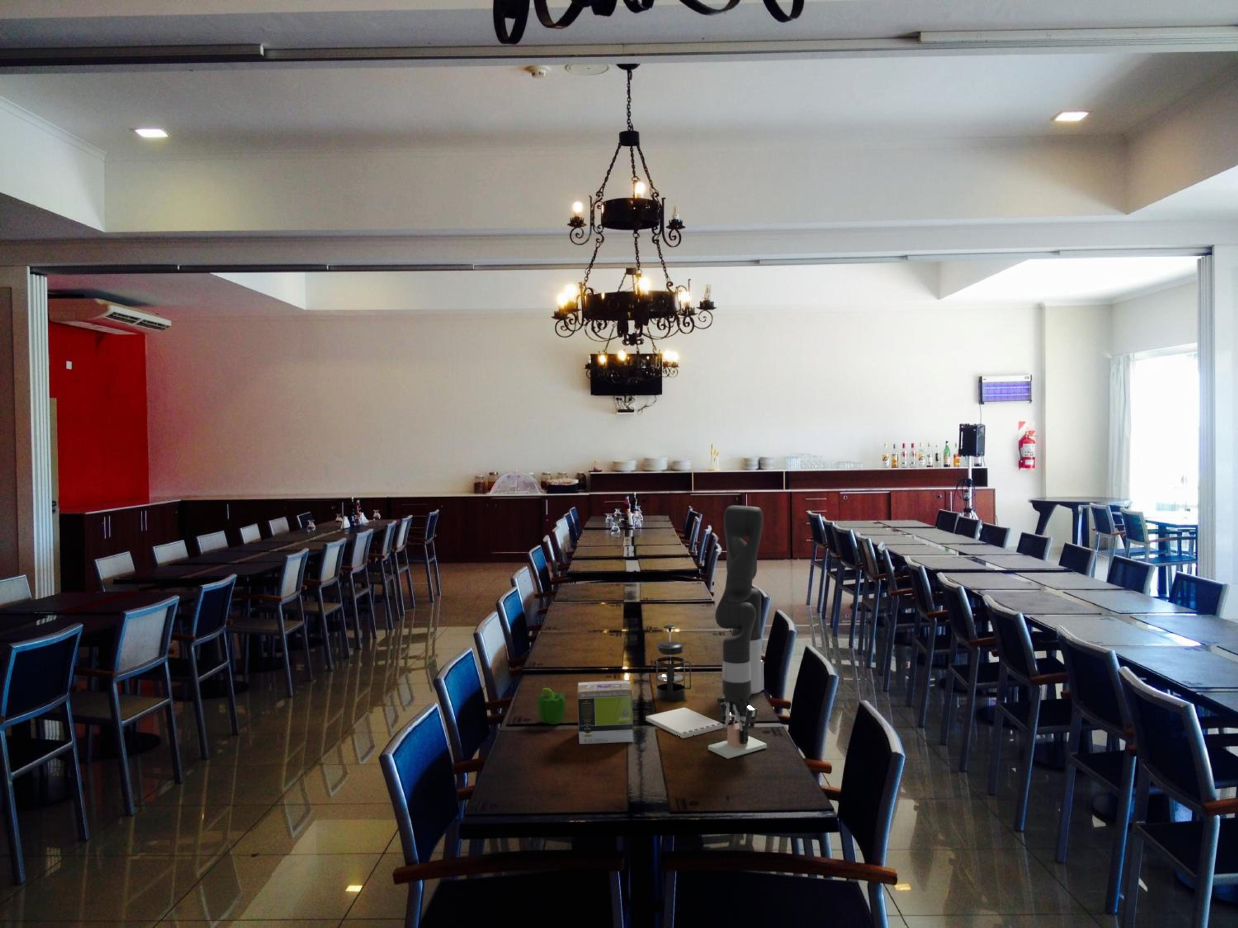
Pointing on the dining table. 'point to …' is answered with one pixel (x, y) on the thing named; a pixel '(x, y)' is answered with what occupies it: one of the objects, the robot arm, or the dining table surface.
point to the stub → (736, 744)
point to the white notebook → (684, 722)
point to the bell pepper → (551, 707)
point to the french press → (671, 671)
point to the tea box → (605, 712)
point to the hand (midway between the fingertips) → (737, 740)
